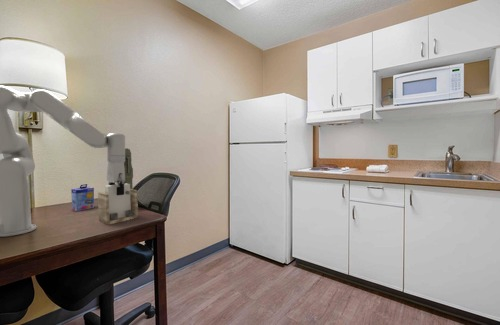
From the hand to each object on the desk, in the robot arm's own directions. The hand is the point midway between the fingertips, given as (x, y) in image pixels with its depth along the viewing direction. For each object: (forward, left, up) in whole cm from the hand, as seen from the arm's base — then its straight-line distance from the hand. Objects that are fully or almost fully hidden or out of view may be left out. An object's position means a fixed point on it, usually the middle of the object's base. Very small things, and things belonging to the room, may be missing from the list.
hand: (116, 193), depth 116 cm
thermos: (+14, +23, -13) cm, 29 cm away
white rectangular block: (+1, 0, -12) cm, 12 cm away
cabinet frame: (+1, 0, -13) cm, 13 cm away
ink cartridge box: (-4, +37, -13) cm, 39 cm away
